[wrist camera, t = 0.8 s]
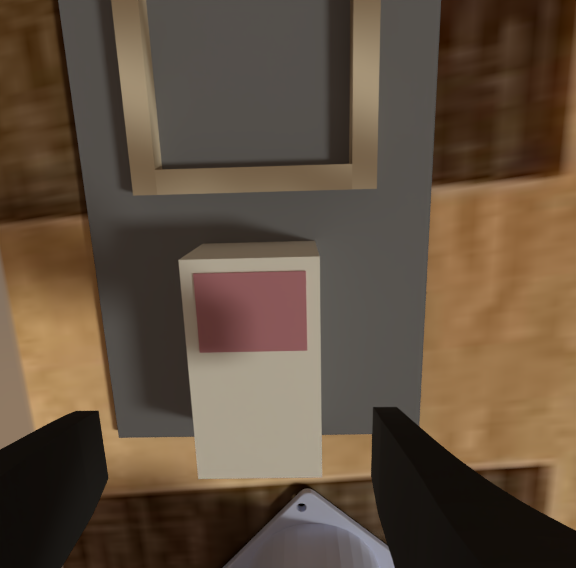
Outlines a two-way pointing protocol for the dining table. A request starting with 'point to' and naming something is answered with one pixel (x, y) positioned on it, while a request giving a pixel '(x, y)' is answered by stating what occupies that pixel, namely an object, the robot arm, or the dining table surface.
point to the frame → (156, 181)
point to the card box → (254, 358)
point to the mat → (260, 205)
